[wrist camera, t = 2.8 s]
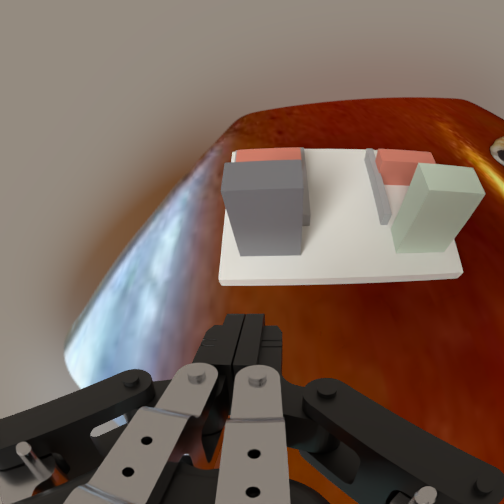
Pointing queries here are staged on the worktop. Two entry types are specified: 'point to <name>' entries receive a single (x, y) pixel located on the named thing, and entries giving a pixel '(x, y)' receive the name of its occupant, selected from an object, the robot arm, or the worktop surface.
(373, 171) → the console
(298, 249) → the grey upright block
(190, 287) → the worktop surface
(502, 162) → the pastry
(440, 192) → the pale green tall block
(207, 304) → the worktop surface
